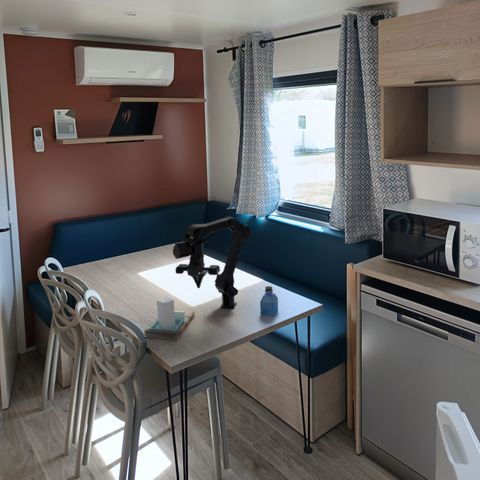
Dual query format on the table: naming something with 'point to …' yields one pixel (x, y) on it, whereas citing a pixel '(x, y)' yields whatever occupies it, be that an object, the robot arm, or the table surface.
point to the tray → (179, 322)
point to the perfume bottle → (269, 302)
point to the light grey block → (166, 313)
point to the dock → (169, 334)
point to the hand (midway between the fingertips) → (198, 287)
